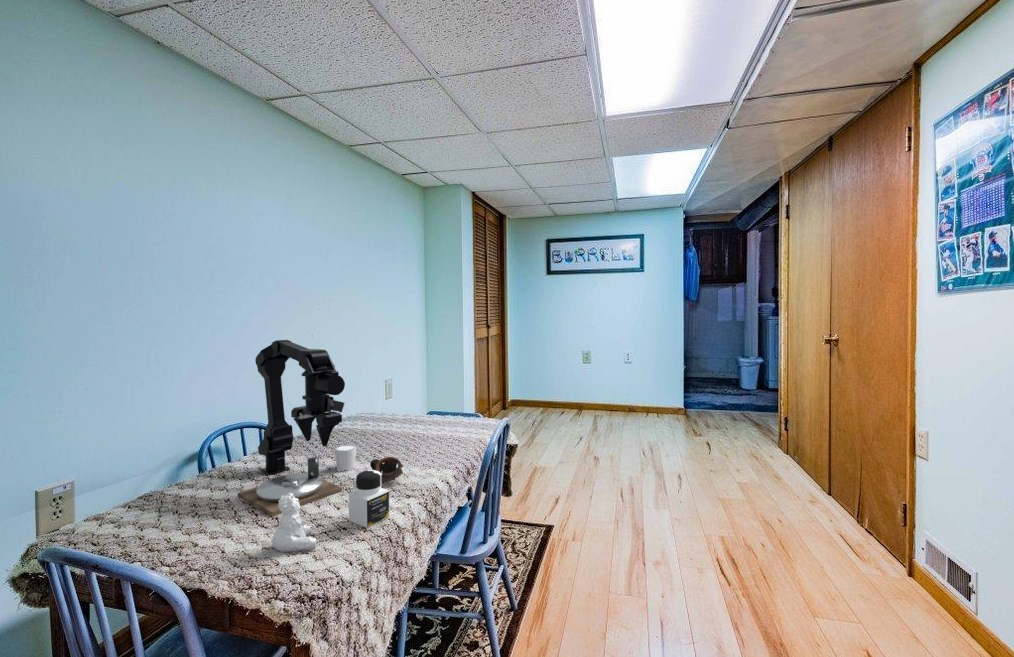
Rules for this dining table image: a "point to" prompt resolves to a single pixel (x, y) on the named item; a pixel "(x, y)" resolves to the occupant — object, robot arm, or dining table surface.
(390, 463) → the pottery mug
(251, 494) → the walnut board
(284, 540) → the sitting furry creature
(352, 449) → the shot glass
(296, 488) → the handwheel
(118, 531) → the dining table surface
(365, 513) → the medicine bottle
